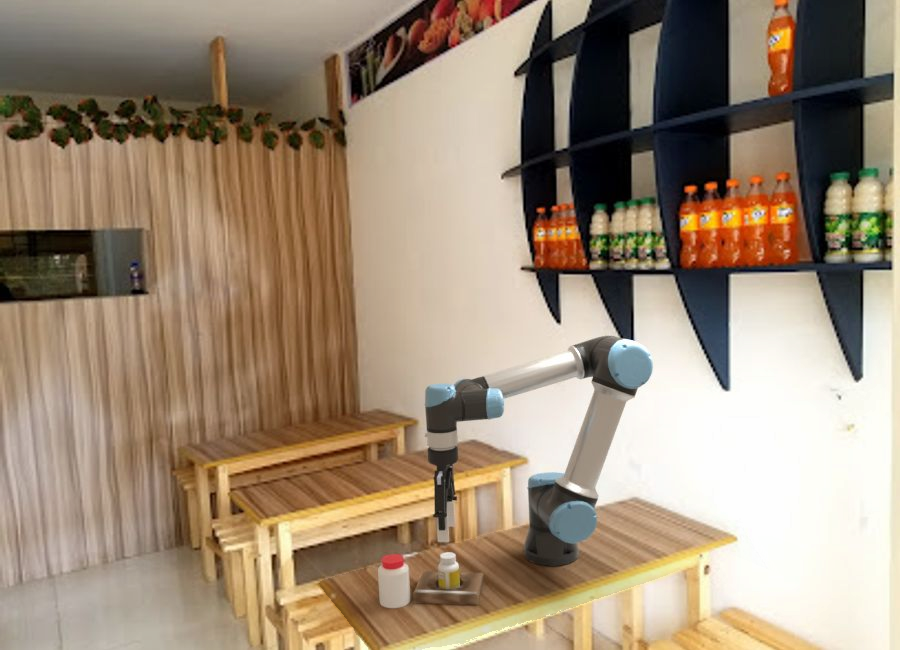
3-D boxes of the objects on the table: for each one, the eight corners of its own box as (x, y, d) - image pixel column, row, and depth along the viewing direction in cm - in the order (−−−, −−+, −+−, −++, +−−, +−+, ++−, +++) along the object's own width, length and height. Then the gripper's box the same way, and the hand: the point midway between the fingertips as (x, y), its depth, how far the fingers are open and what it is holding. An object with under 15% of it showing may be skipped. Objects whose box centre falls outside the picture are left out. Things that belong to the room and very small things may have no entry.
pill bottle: (385, 611, 172) (382, 568, 171) (375, 597, 179) (373, 555, 178) (415, 603, 175) (412, 561, 174) (404, 590, 183) (402, 549, 181)
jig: (483, 582, 185) (483, 571, 185) (477, 605, 173) (477, 594, 173) (423, 580, 188) (423, 570, 187) (413, 602, 176) (413, 591, 176)
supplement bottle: (462, 587, 183) (460, 551, 182) (458, 598, 177) (456, 560, 176) (441, 586, 184) (439, 550, 183) (437, 596, 178) (435, 559, 177)
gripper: (435, 434, 188) (439, 517, 190) (418, 459, 167) (423, 551, 169) (463, 434, 187) (467, 517, 189) (450, 459, 165) (454, 552, 168)
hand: (446, 533), depth 179 cm, fingers open, 9 cm apart
